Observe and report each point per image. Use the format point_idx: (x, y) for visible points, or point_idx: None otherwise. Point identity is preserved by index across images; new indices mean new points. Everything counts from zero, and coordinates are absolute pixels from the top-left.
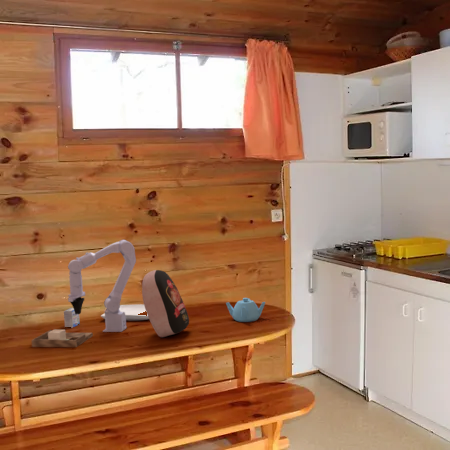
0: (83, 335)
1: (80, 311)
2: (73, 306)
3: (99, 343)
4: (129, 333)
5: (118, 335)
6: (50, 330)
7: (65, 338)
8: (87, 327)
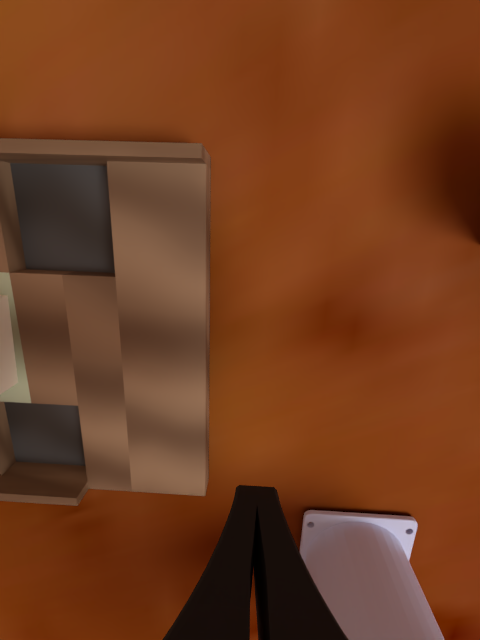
0: (47, 503)
1: (254, 568)
2: (192, 601)
3: (58, 552)
4: None
5: None
6: (173, 157)
7: (7, 385)
8: (468, 366)
